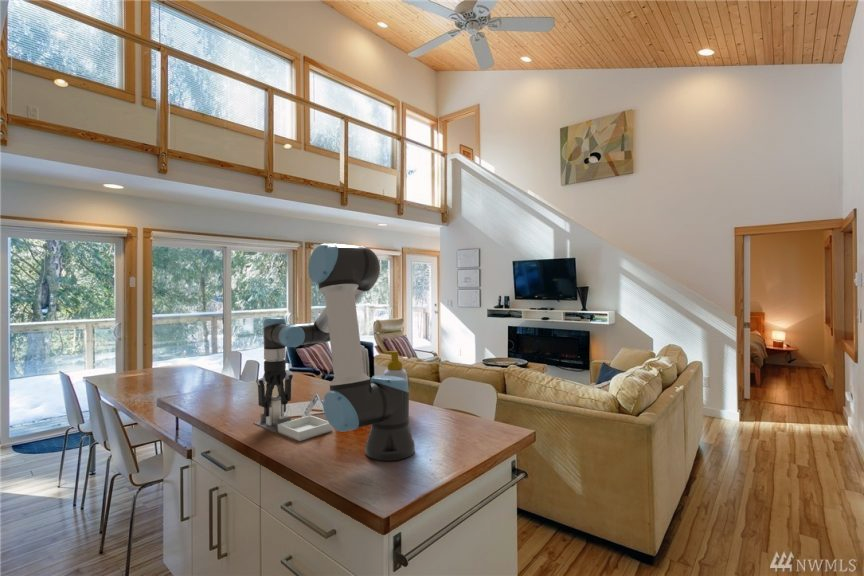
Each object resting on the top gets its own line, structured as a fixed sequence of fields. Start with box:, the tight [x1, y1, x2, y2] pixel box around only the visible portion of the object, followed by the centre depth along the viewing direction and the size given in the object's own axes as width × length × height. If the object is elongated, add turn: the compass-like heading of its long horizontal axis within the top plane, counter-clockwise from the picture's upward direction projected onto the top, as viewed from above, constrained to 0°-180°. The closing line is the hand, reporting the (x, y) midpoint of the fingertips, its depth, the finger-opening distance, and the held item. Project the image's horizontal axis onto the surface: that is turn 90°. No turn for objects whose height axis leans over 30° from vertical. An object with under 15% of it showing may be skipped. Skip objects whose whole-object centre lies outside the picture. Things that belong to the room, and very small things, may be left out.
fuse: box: [270, 394, 281, 426], centre depth 158 cm, size 4×4×10 cm
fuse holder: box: [253, 412, 292, 433], centre depth 158 cm, size 15×9×4 cm, turn 50°
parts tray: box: [277, 414, 333, 442], centre depth 151 cm, size 13×13×3 cm
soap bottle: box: [382, 350, 407, 380], centre depth 170 cm, size 9×9×25 cm
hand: (275, 423), depth 158 cm, fingers closed on fuse, fuse holder, 4 cm apart
